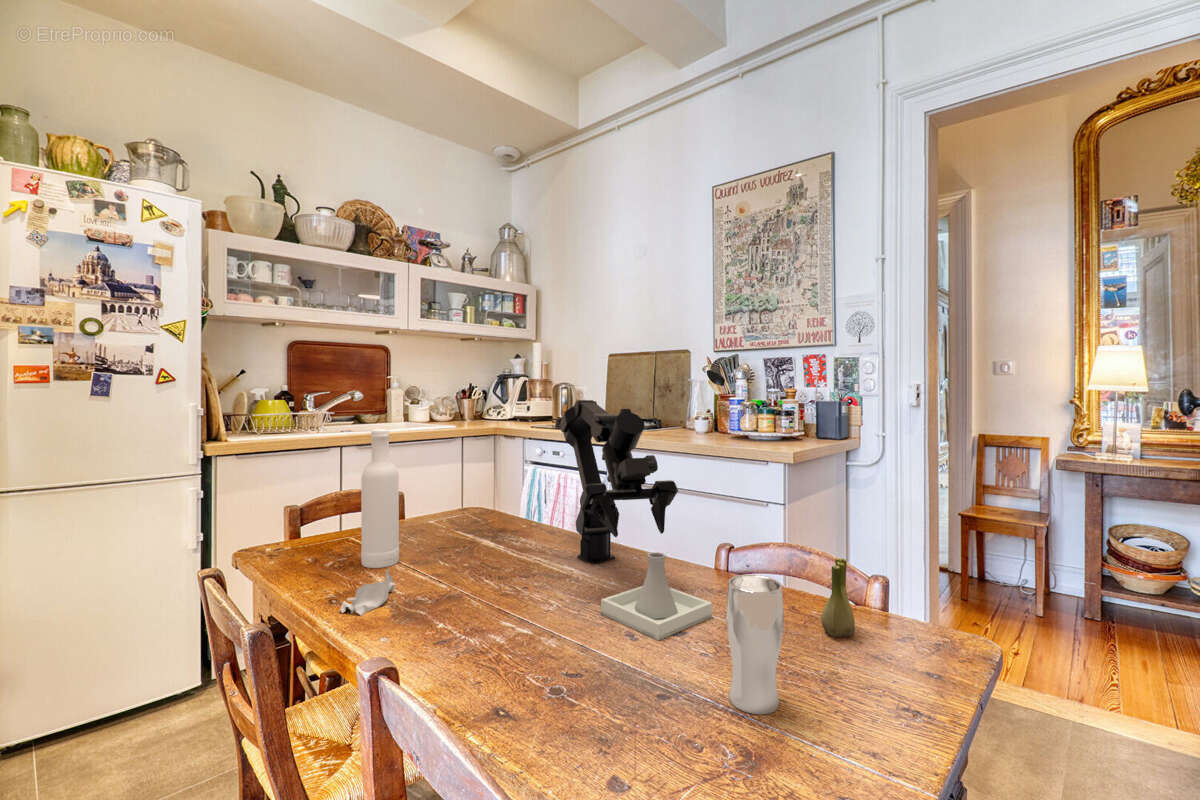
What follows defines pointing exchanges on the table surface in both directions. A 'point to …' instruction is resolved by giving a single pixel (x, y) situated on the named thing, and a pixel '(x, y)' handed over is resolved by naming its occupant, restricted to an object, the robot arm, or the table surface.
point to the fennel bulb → (838, 605)
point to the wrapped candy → (369, 596)
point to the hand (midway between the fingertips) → (639, 534)
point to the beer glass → (754, 641)
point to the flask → (656, 590)
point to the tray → (687, 616)
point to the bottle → (380, 506)
